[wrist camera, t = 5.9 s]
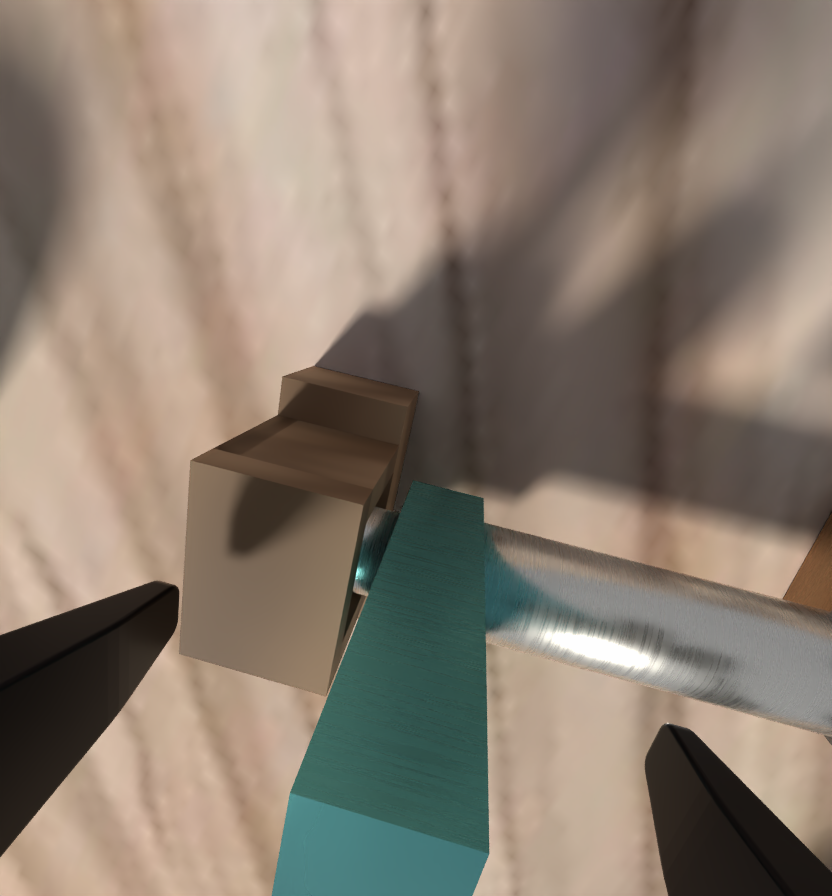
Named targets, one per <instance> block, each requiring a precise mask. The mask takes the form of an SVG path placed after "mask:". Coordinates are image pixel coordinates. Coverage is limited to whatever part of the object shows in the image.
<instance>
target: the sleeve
mask: <svg viewBox="0 0 832 896" xmlns="http://www.w3.org/2000/svg"><path fill="white" fill-rule="evenodd" d="M783 600H787V601H791V602H795V603H799V604H803V605H806V606H810V607H814V608H818V609H822V610H826V611H830V612H832V513H831V515H830V516H829V518H828V520H827V522H826V524H825V525H824V527H823V529H822V531H821V532H820V534H819V536H818V538H817V540H816V541H815V543H814V545H813V547H812V548H811V550H810V552H809V554H808V555H807V557H806V559H805V561H804V563H803V564H802V566H801V568H800V570H799V571H798V573H797V575H796V577H795V578H794V580H793V582H792V584H791V586H790V587H789V589H788V591H787V593H786V594H785V596H784V598H783ZM824 736H825V735H824ZM825 737H826V739H827V740H828V741H829V742H830V744H831V745H832V737H829V736H825Z"/></svg>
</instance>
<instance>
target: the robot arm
mask: <svg viewBox="0 0 832 896" xmlns="http://www.w3.org/2000/svg"><path fill="white" fill-rule="evenodd" d="M178 609H179V589H178V587H177V586H175V585H173V584H169V583H165V582H162V581H153V582H150V583H147V584H144V585H141V586H139V587H136V588H133V589H130V590H127V591H124V592H122V593H119V594H116V595H113V596H110V597H107V598H105V599H102V600H99V601H96V602H93V603H90V604H88V605H85V606H82V607H79V608H76V609H73V610H70V611H68V612H65V613H62V614H59V615H56V616H53V617H51V618H48V619H45V620H42V621H39V622H36V623H34V624H31V625H28V626H25V627H22V628H19V629H16V630H14V631H11V632H8V633H5V634H2V635H0V857H1V856H2V855H3V853H4V852H5V851H6V850H7V849H8V847H9V846H10V845H11V844H12V843H13V841H14V840H15V839H16V838H17V836H18V835H19V834H20V833H21V832H22V830H23V829H24V828H25V827H26V826H27V824H28V823H29V822H30V821H31V819H32V818H33V817H34V816H35V815H36V813H37V812H38V811H39V810H40V809H41V807H42V806H43V805H44V804H45V802H46V801H47V800H48V799H49V798H50V796H51V795H52V794H53V793H54V792H55V790H56V789H57V788H58V787H59V785H60V784H61V783H62V782H63V781H64V779H65V778H66V777H67V776H68V775H69V773H70V772H71V771H72V770H73V768H74V767H75V766H76V765H77V764H78V762H79V761H80V760H81V759H82V758H83V756H84V755H85V754H86V753H87V751H88V750H89V749H90V748H91V747H92V745H93V744H94V743H95V742H96V741H97V739H98V738H99V737H100V736H101V734H102V733H103V732H104V731H105V730H106V728H107V727H108V726H109V725H110V723H111V722H112V721H113V720H114V718H115V717H116V716H117V715H118V713H119V712H120V711H121V709H122V708H123V706H124V705H125V704H126V702H127V701H128V699H129V698H130V697H131V695H132V694H133V692H134V691H135V689H136V688H137V686H138V685H139V683H140V682H141V680H142V679H143V678H144V676H145V675H146V673H147V672H148V670H149V669H150V667H151V666H152V664H153V663H154V661H155V660H156V658H157V657H158V656H159V654H160V653H161V651H162V650H163V648H164V647H165V645H166V644H167V642H168V641H169V639H170V638H171V636H172V635H173V633H174V631H175V629H176V626H177V623H178ZM645 773H646V779H647V785H648V791H649V797H650V802H651V808H652V814H653V820H654V826H655V831H656V837H657V843H658V849H659V855H660V860H661V865H662V870H663V875H664V880H665V884H666V888H667V892H668V896H832V872H831V871H830V870H829V869H828V868H827V867H826V866H825V865H824V864H823V863H822V862H821V861H820V860H819V859H818V858H817V857H816V856H815V855H814V854H813V853H812V852H811V851H810V850H809V849H808V848H807V847H806V846H805V845H804V844H803V843H802V842H801V841H800V840H799V839H798V838H797V837H796V836H795V835H794V834H793V833H792V832H791V831H790V830H789V829H788V828H787V827H786V826H785V825H784V824H783V823H782V822H781V821H780V820H779V819H778V817H777V816H776V815H775V814H774V813H773V812H772V811H771V810H770V809H769V808H768V807H767V806H766V805H765V804H764V803H763V802H762V801H761V800H760V799H759V798H758V797H757V796H756V795H755V794H754V793H753V792H752V791H751V790H750V789H749V788H748V787H747V786H746V785H745V784H744V783H743V782H742V781H741V780H740V779H739V778H738V777H737V776H736V775H735V774H734V773H733V772H732V771H731V770H730V769H729V768H728V767H727V766H726V765H725V764H724V763H723V762H722V761H721V760H720V759H719V758H718V756H717V755H716V754H715V753H714V752H713V751H712V750H711V749H710V748H709V747H708V746H707V745H706V744H705V743H704V742H703V741H702V740H701V739H700V738H699V737H698V736H697V735H696V734H695V733H694V732H693V731H691V730H690V729H687V728H684V727H681V726H677V725H674V724H670V723H666V724H664V725H662V726H661V728H660V730H659V732H658V734H657V735H656V737H655V739H654V741H653V743H652V745H651V747H650V749H649V751H648V753H647V755H646V759H645Z"/></svg>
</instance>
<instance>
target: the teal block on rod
mask: <svg viewBox="0 0 832 896" xmlns="http://www.w3.org/2000/svg"><path fill="white" fill-rule="evenodd" d="M352 592H354V593H357V594H361V595H365V596H368V597H367V599H366V602H365V604H364V607H363V609H362V612H361V614H360V617H359V619H358V622H357V624H356V627H355V629H354V632H353V635H352V637H351V640H350V642H349V645H348V647H347V650H346V652H345V655H344V657H343V660H342V662H341V665H340V668H339V670H338V673H337V675H336V678H335V680H334V683H333V685H332V688H331V690H330V693H329V695H328V698H327V700H326V703H325V706H324V708H323V711H322V713H321V716H320V718H319V721H318V723H317V726H316V728H315V731H314V733H313V736H312V739H311V741H310V744H309V746H308V749H307V751H306V754H305V756H304V759H303V761H302V764H301V766H300V769H299V771H298V774H297V777H296V779H295V782H294V784H293V787H292V789H291V792H290V796H289V802H288V807H287V813H286V818H285V824H284V830H283V835H282V841H281V847H280V852H279V858H278V863H277V869H276V875H275V880H274V886H273V891H272V896H472V895H473V893H474V890H475V888H476V885H477V883H478V880H479V878H480V875H481V873H482V870H483V868H484V865H485V863H486V860H487V858H488V856H489V809H488V747H487V685H486V642H487V643H491V644H494V645H498V646H502V647H505V648H509V649H513V650H516V651H520V652H523V653H527V654H531V655H534V656H538V657H542V658H545V659H549V660H553V661H556V662H560V663H563V664H567V665H571V666H574V667H578V668H582V669H585V670H589V671H593V672H596V673H600V674H603V675H607V676H611V677H614V678H618V679H622V680H625V681H629V682H633V683H636V684H640V685H644V686H647V687H651V688H654V689H658V690H662V691H665V692H669V693H673V694H676V695H680V696H684V697H687V698H691V699H694V700H698V701H702V702H705V703H709V704H713V705H716V706H720V707H724V708H727V709H731V710H735V711H738V712H742V713H745V714H749V715H753V716H756V717H760V718H764V719H767V720H771V721H775V722H778V723H782V724H785V725H789V726H793V727H796V728H800V729H804V730H807V731H811V732H815V733H818V734H822V735H825V736H829V737H832V612H830V611H826V610H822V609H818V608H814V607H810V606H806V605H803V604H799V603H795V602H791V601H787V600H783V599H779V598H775V597H772V596H768V595H764V594H760V593H756V592H752V591H748V590H744V589H740V588H737V587H733V586H729V585H725V584H721V583H717V582H713V581H709V580H705V579H702V578H698V577H694V576H690V575H686V574H682V573H678V572H674V571H671V570H667V569H663V568H659V567H655V566H651V565H647V564H643V563H639V562H636V561H632V560H628V559H624V558H620V557H616V556H612V555H608V554H604V553H601V552H597V551H593V550H589V549H585V548H581V547H577V546H573V545H569V544H566V543H562V542H558V541H554V540H550V539H546V538H542V537H538V536H535V535H531V534H527V533H523V532H519V531H515V530H511V529H507V528H503V527H500V526H496V525H492V524H488V523H484V500H483V498H481V497H477V496H473V495H469V494H465V493H461V492H457V491H453V490H449V489H445V488H441V487H437V486H433V485H429V484H426V483H422V482H418V481H414V480H413V482H412V485H411V487H410V490H409V493H408V495H407V498H406V500H405V503H404V505H403V508H402V510H401V513H398V512H394V511H391V510H387V509H383V508H379V507H375V508H374V510H373V511H372V513H371V515H370V517H369V519H368V521H367V523H366V527H365V532H364V537H363V542H362V547H361V552H360V557H359V562H358V566H357V571H356V576H355V581H354V586H353V591H352Z"/></svg>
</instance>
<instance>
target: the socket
mask: <svg viewBox="0 0 832 896" xmlns="http://www.w3.org/2000/svg"><path fill="white" fill-rule="evenodd" d="M418 395H419V391H415V390H411V389H407V388H403V387H398V386H394V385H390V384H386V383H382V382H378V381H373V380H369V379H365V378H361V377H357V376H353V375H349V374H344V373H340V372H336V371H332V370H328V369H324V368H319V367H315V366H312V367H309V368H306V369H303V370H300V371H297V372H294V373H291V374H288V375H286V376H283V377H282V385H281V393H280V402H279V410H278V415H277V416H275V417H273V418H271V419H269V420H267V421H265V422H264V423H262V424H260V425H258V426H256V427H254V428H252V429H250V430H248V431H246V432H244V433H242V434H240V435H238V436H237V437H235V438H233V439H231V440H229V441H227V442H225V443H223V444H221V445H219V446H217V447H215V448H213V449H211V450H210V451H208V452H206V453H204V454H202V455H200V456H198V457H196V458H194V459H192V460H190V477H189V494H188V511H187V528H186V545H185V562H184V579H183V596H182V613H181V630H180V647H179V654H181V655H185V656H188V657H191V658H195V659H198V660H202V661H205V662H209V663H212V664H216V665H219V666H223V667H226V668H229V669H233V670H236V671H240V672H243V673H247V674H250V675H254V676H257V677H261V678H264V679H267V680H271V681H274V682H278V683H281V684H285V685H288V686H292V687H295V688H299V689H302V690H305V691H309V692H312V693H316V694H319V695H323V696H326V695H327V693H328V690H329V688H330V685H331V683H332V680H333V678H334V675H335V673H336V670H337V668H338V665H339V663H340V660H341V658H342V655H343V653H344V650H345V648H346V645H347V643H348V640H349V638H350V635H351V633H352V630H353V628H354V625H355V623H356V620H357V618H358V619H359V617H360V614H361V612H362V609H363V607H364V604H365V602H366V599H367V597H368V596H365V595H361V594H357V593H354V592H352V591H353V586H354V581H355V576H356V571H357V566H358V562H359V557H360V552H361V547H362V542H363V537H364V532H365V527H366V523H367V521H368V519H369V517H370V515H371V513H372V511H373V510H374V508H375V507H379V508H383V509H387V510H391V511H393V508H394V504H395V499H396V495H397V490H398V486H399V481H400V477H401V472H402V467H403V463H404V458H405V454H406V449H407V445H408V440H409V436H410V431H411V426H412V422H413V417H414V413H415V408H416V404H417V399H418Z"/></svg>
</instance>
